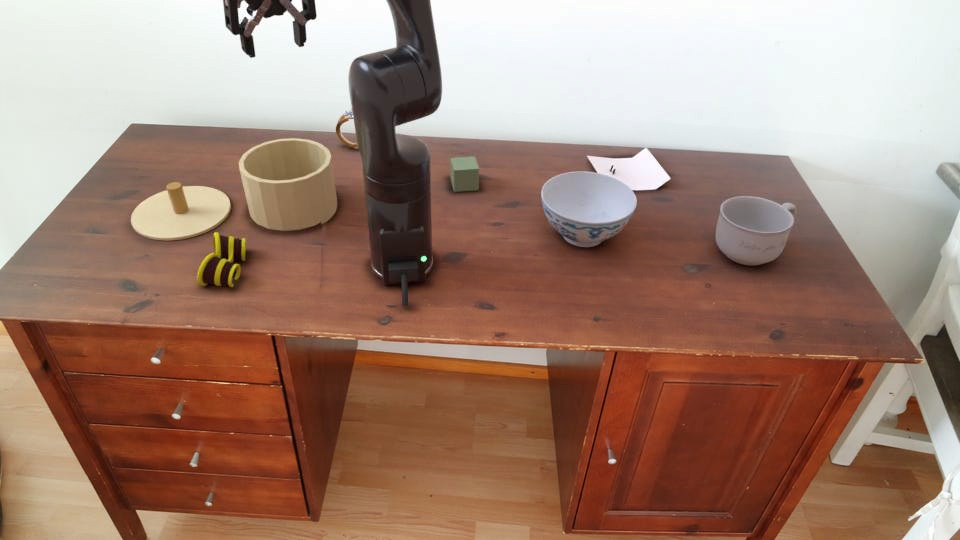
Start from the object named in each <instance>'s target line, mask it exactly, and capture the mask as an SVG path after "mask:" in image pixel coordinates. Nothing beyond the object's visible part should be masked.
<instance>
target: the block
mask: <svg viewBox="0 0 960 540" xmlns="http://www.w3.org/2000/svg"><path fill="white" fill-rule="evenodd" d="M450 183H451V186H452V190H453V192H454V193H458V192H459V193H460V192H475V191H479V189H480V167H479V164H478V161H477V158H476V156H475V155H473V156H457V157H455V156H454V157H450Z"/></svg>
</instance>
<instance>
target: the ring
mask: <svg viewBox="0 0 960 540" xmlns="http://www.w3.org/2000/svg"><path fill="white" fill-rule="evenodd" d="M350 120H354V118H353V112H352V107H351V108H350V110H349V111H348V110H345V112H344V113H343V114H342V115H340V117H339V119H338V121H337V123H336V124H335V133H336V135H337V138H338V139H339V140H340V141H341V142H342V143H343V144H344V145H345V146H347V147H349V148H351V149H354V150H359V148H358V145H357V141H355V142H352V141H350V140H348V139H347V138H345V137H344V135H343V134H342V130H341V129H342V128H341V127H342V125H343V124H344V123H347V122H349V121H350Z"/></svg>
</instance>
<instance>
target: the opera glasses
mask: <svg viewBox="0 0 960 540" xmlns="http://www.w3.org/2000/svg"><path fill="white" fill-rule="evenodd" d="M212 243H213V244H212V245H213V252H211V253H209V254H207V256H205V258H204V259H203V260H202V262H201V263H200V265H199V268H198V270H197V276H196V279H197V283H198V284H199V285H200V286H202V287H206V286H208V285H215V286H217V287H222V286H224V287H227V286H228V287H230V288H234V286H235V285H234V284H235V283H233V279H234V281H235V280H238V279H239V278H240V275H241V272H242V268H241V265H240V264H239V263H234V262H235V261H236V262H239V261H242V262H246V251H247V250H246V249H247V238H244V237H242V238H241V239H240V238H239V237H238V238H236V237H235V236H232V235H229V236H227V235H222V234H220V233H219V232H218V231H215V232H214V233H213V237H212Z"/></svg>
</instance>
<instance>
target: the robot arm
mask: <svg viewBox="0 0 960 540" xmlns="http://www.w3.org/2000/svg"><path fill="white" fill-rule="evenodd" d="M242 2H245V3H246V5H245V7H244V9H243V10H242V16H241V18H239V17H240V16H239V9H240V8H241V6H242ZM292 2H293V0H222V3H223V12H224V23H225V28H226V29H227V30H228V31H229V32H230V33H231V34H232V35H234V36H239V40H240V46H241V50H242V51H243V52H244V54H245V55H246V56H248V57H249V58H250V59H252V58H256V49H255V43H254V42H255V41H254V36H253V35H252V33H253V32H254V30H255V28H256V27H257V26H259V25H260V23H261V22H262V19H263V18H264V19H268V18H272V17H274V16H276V17H277V16H278V17H281V16H284V14H285V13H286V12H287V13H288V14H289V15H290V16H291V17H292V18H293V19H294V20H293V21H292V29H293V41H294V44H295V45H296V46H298V47H299V48H303V47H305V43H307V39H308V38H307V28H306V27H307V24H308V22H310V21H315V20H316V19H317V16H318V15H317V9H316V8H317V7H316V0H301V7H302V10H301V11H299V9H297V7H296V6H295V5H294V4H293V3H292ZM386 3H387V6H388V7H389V11H390V13H391V17H392V21H393V27H394V32H395V33H394V34H395V44H396V45H395V46H394V47H391V48H387V49H383V50H379V51H375V52H371V53H366V54H363V55H360V56H358V57H356V58H354V59H353V60H352V61H351V64H350V66H349V70H348V77H347V78H348V80H347V81H348V93H349V100H350V106H351V108H352V112H353V118H354V119H353V124H354V130H355V131H354V132H355V138H356V142H357V145H358V152H359V155H360V159H361V163H362V174H363V187H364V197H365V209H366V218H367V229H368V238H369V247H370V259H371V260H370V265H371V271H372V273H373V275H375V277H376V278H378V279H379V280H381V281H382V282H383V285H384V286H395V285H396V286H397V285H401V286H400V287H401V306H402V307H409V289H408V284H419V283H425V282H426V280H427V279H426V277H427V276H428V275H430V273H431V271H432V270H433V269H434V268H433V267H434V256H433V230H432V191H431V190H432V188H431V186H432V185H431V184H432V183H431V179H432V178H431V152H430V149H429V146H428V145H427V143H425V142H424V141H423V140H421V139H419V138H417V137H415V136H412V135H409V134H404V133H397V131H396V127H399V126H401V125H404V124H407V123H411V122H414V121H418V120H420V119H423V118H425V117H429V116H430V115H433V114H434V113H435V112H437V110H438V109H439V107H440V106H441V102H442V98H443V97H442V96H443V75H442V68H441V67H442V66H441V60H440V54H439V48H438V47H439V46H438V42H437V36H436V35H437V34H436V29H435V22H434V17H433V10H432V2H431V0H386Z"/></svg>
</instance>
